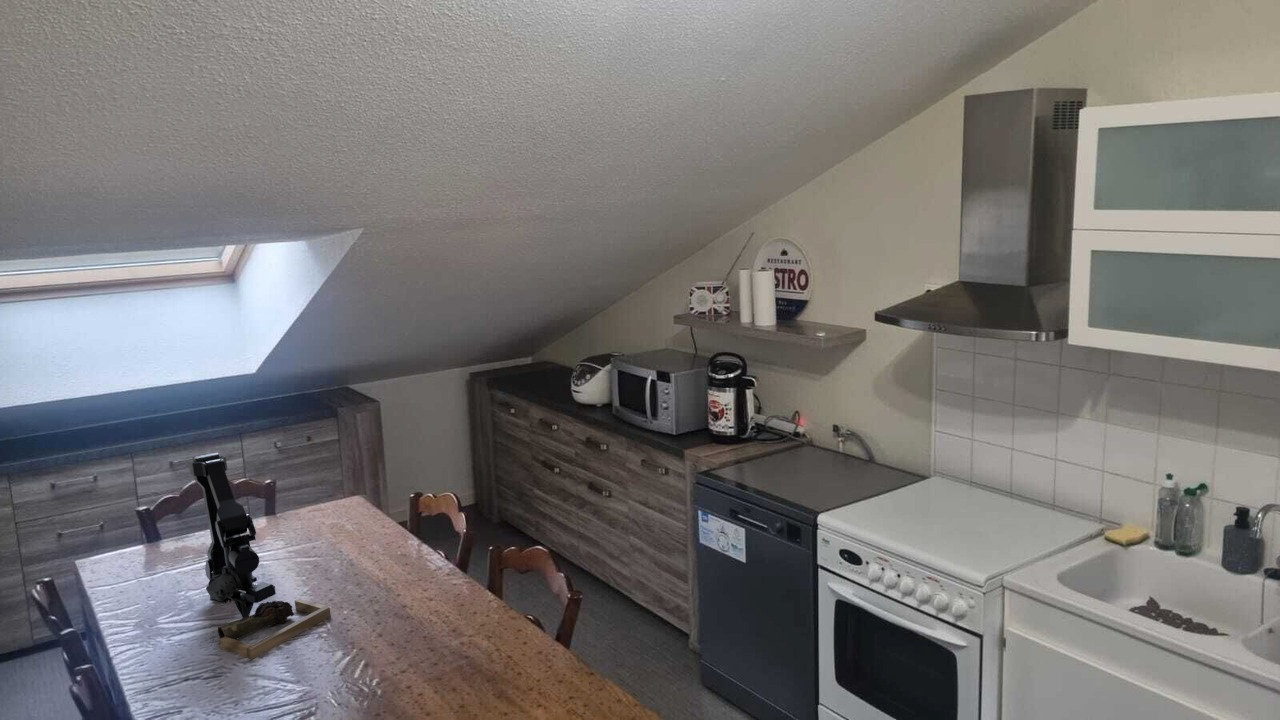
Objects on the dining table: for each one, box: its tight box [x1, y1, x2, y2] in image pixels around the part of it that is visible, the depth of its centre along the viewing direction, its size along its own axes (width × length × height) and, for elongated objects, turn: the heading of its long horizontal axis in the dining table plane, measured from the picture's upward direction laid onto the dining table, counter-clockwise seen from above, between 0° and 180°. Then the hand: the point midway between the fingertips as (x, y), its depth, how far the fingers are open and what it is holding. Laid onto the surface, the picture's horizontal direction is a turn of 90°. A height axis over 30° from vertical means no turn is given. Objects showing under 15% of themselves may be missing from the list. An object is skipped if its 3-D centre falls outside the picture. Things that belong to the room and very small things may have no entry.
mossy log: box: [217, 600, 295, 640], centre depth 238 cm, size 18×7×6 cm, turn 134°
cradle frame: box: [219, 598, 332, 660], centre depth 236 cm, size 11×24×2 cm, turn 150°
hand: (245, 618), depth 242 cm, fingers closed
